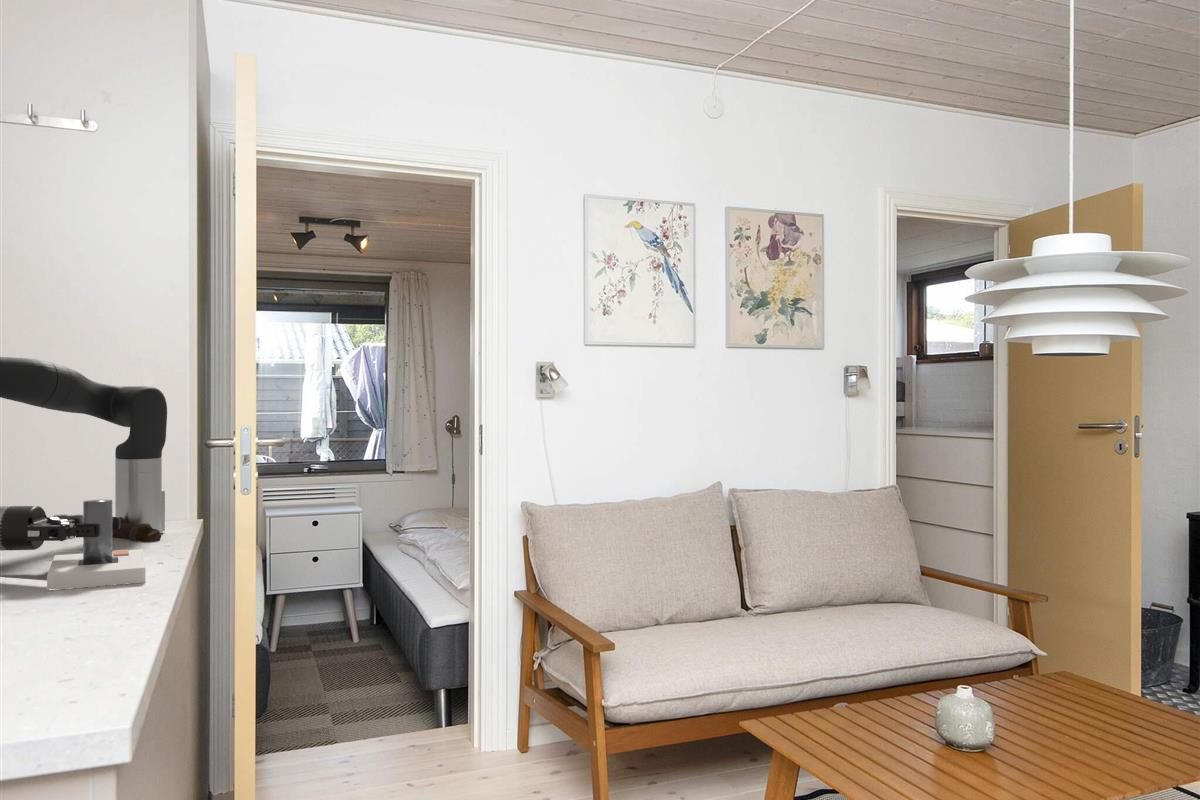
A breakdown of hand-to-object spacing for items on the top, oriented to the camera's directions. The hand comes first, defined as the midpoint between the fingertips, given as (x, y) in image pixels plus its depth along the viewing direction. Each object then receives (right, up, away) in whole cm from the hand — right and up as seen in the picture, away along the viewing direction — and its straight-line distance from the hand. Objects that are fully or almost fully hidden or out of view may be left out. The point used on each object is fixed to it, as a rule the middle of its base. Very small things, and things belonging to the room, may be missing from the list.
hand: (110, 526), depth 154 cm
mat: (-14, -8, +15) cm, 22 cm away
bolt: (-14, -9, +34) cm, 38 cm away
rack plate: (-2, -8, 0) cm, 9 cm away
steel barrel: (-2, -8, 0) cm, 9 cm away
